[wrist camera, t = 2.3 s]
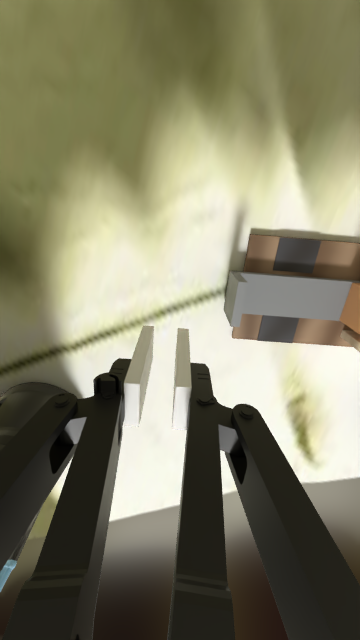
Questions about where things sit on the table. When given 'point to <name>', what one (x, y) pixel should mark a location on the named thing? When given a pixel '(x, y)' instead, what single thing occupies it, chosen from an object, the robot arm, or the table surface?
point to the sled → (292, 297)
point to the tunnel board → (306, 262)
